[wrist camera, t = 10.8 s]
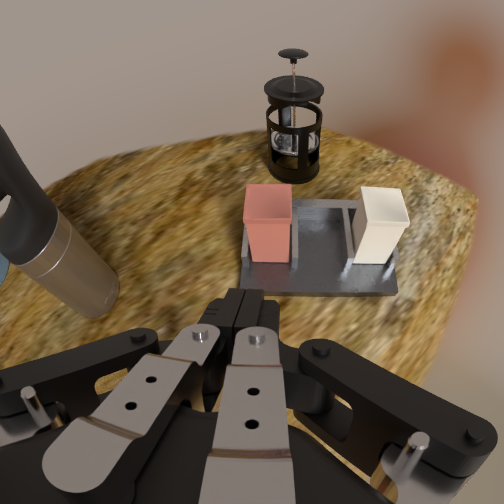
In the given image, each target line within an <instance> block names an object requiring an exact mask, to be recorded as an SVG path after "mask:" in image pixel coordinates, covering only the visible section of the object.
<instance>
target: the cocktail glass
mask: <svg viewBox="0 0 504 504" xmlns="http://www.w3.org/2000/svg"><path fill="white" fill-rule="evenodd" d="M8 268H9V260H7V259H6V258H5V257H4V256H3V255H2V254H1V252H0V285H1V284H2V283H3V281H4V279H5V277H6V275H7V272H8Z"/></svg>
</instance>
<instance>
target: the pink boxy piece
mask: <svg viewBox="0 0 504 504" xmlns="http://www.w3.org/2000/svg"><path fill="white" fill-rule="evenodd" d="M243 223H244V224H246V228H247V233H248V239H249V244H250V249H251V255H252V260H253V262H289V240H290V224H292V193H291V184H247V187H246V195H245V204H244V213H243Z"/></svg>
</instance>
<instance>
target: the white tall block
mask: <svg viewBox="0 0 504 504" xmlns="http://www.w3.org/2000/svg"><path fill="white" fill-rule="evenodd" d="M409 225H410V221H409V217H408V214H407V210H406V207H405V203H404V200H403V197H402V193H401V190H400V189H394V188H379V187H360V198H359V202H358V205H357V209H356V212H355V216H354V219H353V223H352V226H351V236H352V244H353V253H354V260H353V263H362V264H385V263H386V262H387V260H388V258H389V256H390V255H391V253H392V251H393V249H394V248H395V246H396V244H397V242H398V240H399V239H400V237H401V235H402V233H403V231H404V229H405V227H409Z"/></svg>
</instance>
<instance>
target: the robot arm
mask: <svg viewBox="0 0 504 504" xmlns="http://www.w3.org/2000/svg"><path fill="white" fill-rule="evenodd" d="M6 195H10V196H11V199H10V203H9V205H8V208H7V210H6V212H5V214H4V216H3V218H2V220H1V223H0V252H1V254H2V255H3V256H4V257H5V258H6V259H7V260H9V261H10V262H11V263H12V264H14V265H15V266H16V267H17V268H18V269H20V270H21V271H22V272H23V273H25V274H26V275H27V276H29V277H30V278H31V279H33V280H34V281H35V282H36V283H38V284H39V285H40V286H42V287H43V288H44V289H46V290H47V291H48V292H50V293H51V294H53V295H54V296H55V297H57V298H58V299H60V300H61V301H62V302H64V303H65V304H67V305H68V306H69V307H71V308H72V309H74V310H75V311H77V312H78V313H80V314H81V315H83V316H85V317H87V318H97V317H100V316H102V315H104V314H105V313H107V312H108V311H109V310H110V309H111V308H112V306H113V305H114V303H115V301H116V299H117V297H118V294H119V279H118V276H117V275H116V273H115V272H114V271H113V270H112V269H111V268H110V267H109V266H108V265H107V263H106V262H105V261H104V260H103V259H102V258H101V257H100V256H99V255H98V254H97V253H96V252H95V250H94V249H93V248H92V247H91V246H90V245H89V244H88V243H87V242H86V241H85V239H84V238H83V237H82V236H81V235H80V234H79V233H78V232H77V230H76V229H75V228H74V227H73V226H72V225H71V223H70V222H69V221H68V220H67V219H66V218H65V217H64V215H63V214H62V213H61V212H60V211H59V209H58V208H57V207H56V206H55V205H54V203H53V202H52V201H51V200H50V198H49V197H48V196H47V195H46V193H45V192H44V191H43V190H42V188H41V187H40V186H39V184H38V183H37V182H36V180H35V179H34V178H33V176H32V175H31V174H30V172H29V170H28V169H27V167H26V166H25V164H24V163H23V161H22V159H21V158H20V156H19V154H18V153H17V151H16V149H15V148H14V146H13V144H12V142H11V141H10V139H9V137H8V136H7V134H6V132H5V131H4V129H3V128H2V127H1V125H0V201H1V200H2V199H3V198H4V197H5V196H6ZM279 318H280V305H279V304H278V303H277V302H276V301H275V300H264V289H247V290H246V289H238V288H229V289H228V292H227V294H226V296H225V298H224V299H221V298H217V299H215V300H213V301H212V302H210V303H209V305H208V306H207V308H206V310H205V311H204V314H203V315H202V316H201V318H200V320H199V322H198V323H197V324H194V325H190V326H188V327H186V328H184V329H183V330H182V331H181V332H180V333H179V334H178V336H177V337H176V338H175V339H174V340H167V341H158V336H157V333H156V332H155V331H154V330H152V329H148V328H136V329H131V330H128V331H125V332H122V333H119V334H116V335H113V336H110V337H107V338H104V339H101V340H98V341H95V342H92V343H88V344H85V345H82V346H79V347H76V348H73V349H70V350H66V351H63V352H60V353H57V354H53V355H50V356H47V357H43V358H40V359H37V360H33V361H30V362H27V363H23V364H20V365H16V366H13V367H9V368H6V369H2V370H0V504H449V502H450V501H451V500H452V498H453V497H454V496H455V495H456V494H457V493H458V492H459V491H460V490H461V489H462V488H463V487H464V485H465V484H466V483H467V482H468V481H469V480H470V479H471V477H472V476H473V475H474V474H475V472H476V471H477V470H478V469H479V468H480V466H481V465H482V464H483V463H484V461H485V460H486V459H487V457H488V456H489V455H490V453H491V452H492V451H493V449H494V448H495V446H496V444H497V439H498V436H497V432H496V430H495V428H494V426H493V425H492V424H491V423H490V422H488V421H487V420H485V419H483V418H481V417H479V416H477V415H474V414H472V413H470V412H468V411H466V410H464V409H462V408H460V407H458V406H456V405H454V404H452V403H450V402H448V401H446V400H444V399H442V398H440V397H437V396H436V395H434V394H432V393H430V392H428V391H426V390H424V389H422V388H420V387H418V386H416V385H414V384H412V383H410V382H408V381H407V380H405V379H403V378H401V377H399V376H397V375H395V374H393V373H391V372H389V371H388V370H386V369H384V368H382V367H380V366H378V365H376V364H374V363H373V362H371V361H369V360H367V359H365V358H363V357H362V356H360V355H358V354H356V353H354V352H352V351H351V350H349V349H347V348H345V347H343V346H342V345H340V344H338V343H336V342H334V341H331V340H328V339H311V340H308V341H305V342H304V343H302V344H301V345H300V347H299V349H298V348H294V347H290V346H288V345H285V344H284V343H282V342H281V341H280V339H279ZM124 368H127V371H128V374H127V375H126V376H125V377H124V379H123V380H122V381H121V382H120V383H119V384H118V385H117V386H116V388H115V389H113V390H111V391H108V392H106V393H103V394H100V395H97V393H96V391H95V387H94V386H95V382H96V381H97V380H98V379H99V378H100V377H103V376H106V375H108V374H111V373H114V372H116V371H119V370H122V369H124ZM335 394H336V395H337V396H339V397H340V398H342V399H343V400H345V401H346V402H348V403H349V405H350V406H351V408H352V410H351V409H350V408H348V407H347V406H345V405H344V404H342V403H341V402H339V401H338V400H337V399H335ZM56 402H58V403H56ZM286 408H289V409H293V413H294V416H295V418H296V419H297V420H298V421H300V422H301V423H302V424H303V425H304V426H305V427H307V428H308V429H309V430H310V431H311V432H313V433H314V434H315V435H316V436H317V437H319V438H320V439H321V440H322V441H324V442H325V443H326V444H327V445H328V446H330V447H331V448H332V449H334V450H335V451H336V452H337V453H339V454H340V455H341V456H342V457H344V458H345V459H346V460H348V461H349V462H350V463H352V464H353V465H354V466H356V467H357V468H358V469H360V470H361V471H362V472H364V473H365V474H366V475H368V476H369V477H371V479H370V485H369V484H368V483H367V482H366V481H364V480H363V479H362V478H361V477H359V476H358V475H357V474H356V473H354V472H353V471H352V470H351V469H349V468H348V467H347V466H346V465H345V464H343V463H342V462H341V461H340V460H339V459H338V458H336V457H335V456H334V455H333V454H332V453H331V452H329V451H328V450H327V449H326V448H325V447H324V446H323V445H321V444H320V443H319V442H318V441H317V440H316V439H315V438H313V437H312V436H311V435H309V434H308V433H306V432H304V431H302V430H301V429H298V428H296V427H294V426H291V425H288V424H287V412H286ZM218 409H219V412H217V411H218Z"/></svg>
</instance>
